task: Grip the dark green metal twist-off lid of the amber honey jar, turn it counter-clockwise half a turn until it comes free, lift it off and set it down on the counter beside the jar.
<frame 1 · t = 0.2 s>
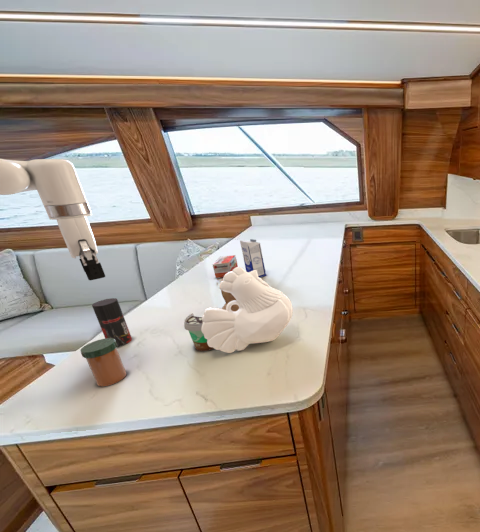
hand: (95, 274, 80), 28 cm above the counter, tool pointing down, fingers open, 9 cm apart
food container: (204, 348, 96), on the counter
deodorant: (120, 343, 100), on the counter
medicine box: (227, 273, 164), on the counter
decorative rooster: (255, 341, 98), on the counter
milk carton: (256, 276, 158), on the counter
jar: (112, 378, 82), on the counter
lid: (98, 346, 79), point 11 cm above the counter, screwed on, not yet turned
stone cup: (239, 311, 120), on the counter
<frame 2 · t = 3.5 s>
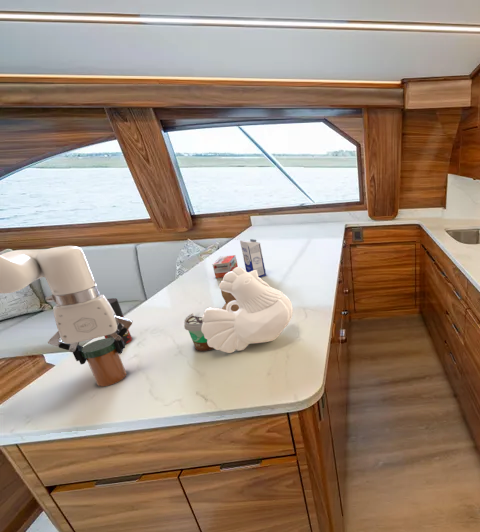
hand: (102, 355, 80), 8 cm above the counter, tool pointing down, fingers closed on lid, 6 cm apart
lid: (98, 346, 79), point 11 cm above the counter, screwed on, not yet turned, touching gripper
everything else where it was.
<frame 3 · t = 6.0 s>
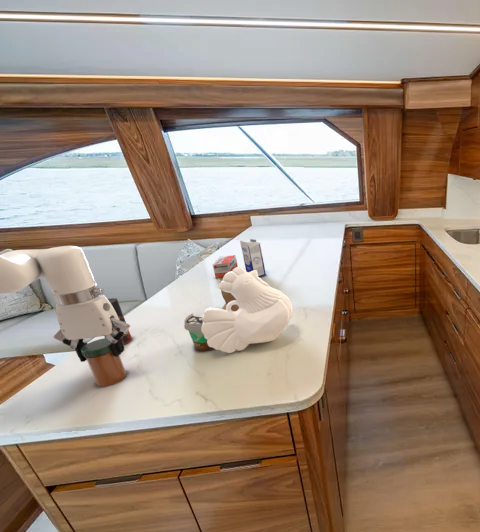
hand: (103, 355, 80), 8 cm above the counter, tool pointing down, fingers closed on lid, 6 cm apart
lid: (99, 345, 79), point 11 cm above the counter, off its thread, touching gripper
everything else where it was.
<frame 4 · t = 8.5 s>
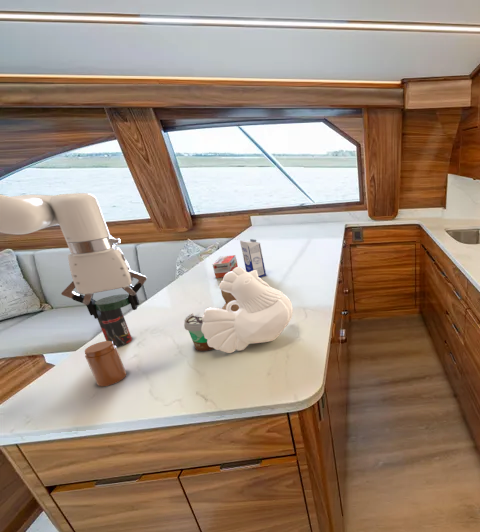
hand: (117, 311, 77), 20 cm above the counter, tool pointing down, fingers closed on lid, 6 cm apart
lid: (112, 300, 76), point 23 cm above the counter, off its thread, touching gripper
everything else where it was.
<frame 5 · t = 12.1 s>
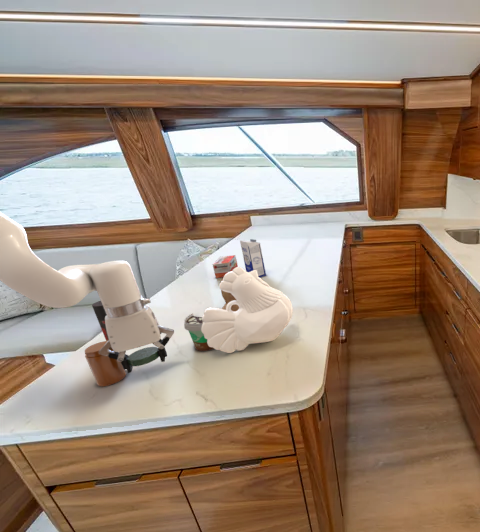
hand: (147, 364, 83), 3 cm above the counter, tool pointing down, fingers closed on lid, 6 cm apart
lid: (143, 354, 82), point 6 cm above the counter, off its thread, touching gripper
everything else where it was.
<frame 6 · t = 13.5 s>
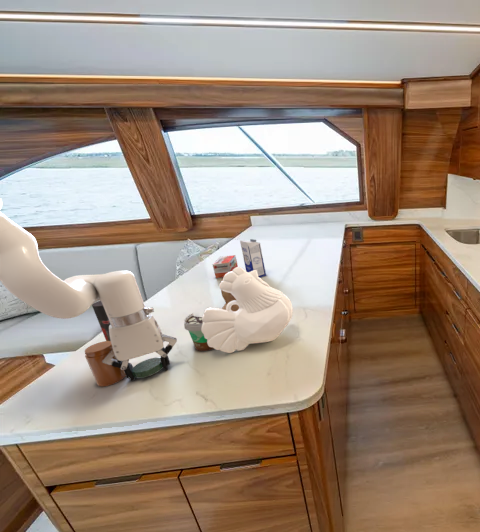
hand: (150, 372, 84), 0 cm above the counter, tool pointing down, fingers closed on lid, 6 cm apart
jar: (112, 378, 82), on the counter, touching gripper
lid: (147, 365, 84), point 2 cm above the counter, off its thread, touching gripper
everything else where it was.
when the fingers open (0 cm above the counter, at t = 13.5 s): lid stays where it is, point 1 cm above the counter.
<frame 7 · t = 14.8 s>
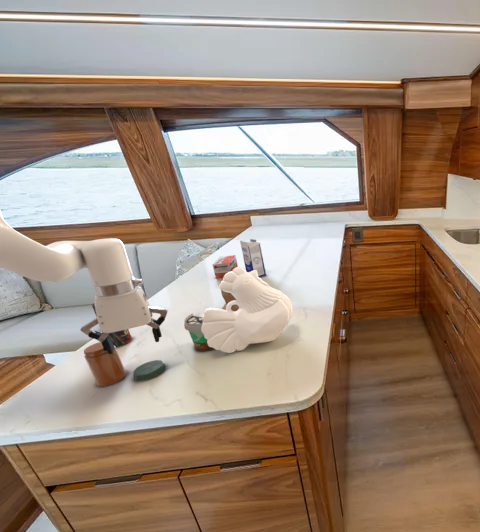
hand: (135, 345, 81), 9 cm above the counter, tool pointing down, fingers open, 9 cm apart
jar: (112, 378, 82), on the counter
lid: (149, 368, 84), point 1 cm above the counter, off its thread
everything else where it was.
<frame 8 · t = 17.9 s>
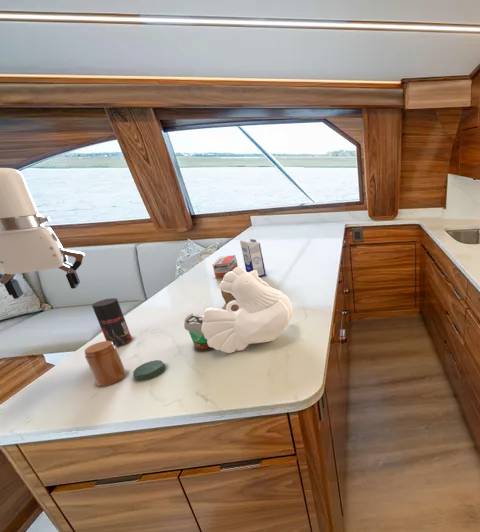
hand: (48, 291, 74), 26 cm above the counter, tool pointing down, fingers open, 9 cm apart
nothing on the counter moved.
at the end: lid came off its thread; lid point 1.4 cm above the counter; the gripper is holding nothing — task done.
